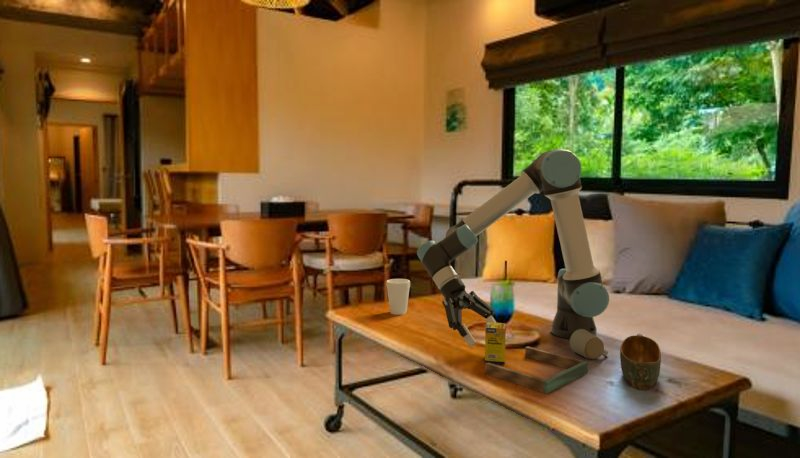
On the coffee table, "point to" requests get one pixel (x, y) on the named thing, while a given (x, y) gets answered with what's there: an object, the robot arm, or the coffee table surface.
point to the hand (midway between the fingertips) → (486, 339)
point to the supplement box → (495, 343)
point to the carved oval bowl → (640, 361)
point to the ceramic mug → (587, 344)
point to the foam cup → (398, 295)
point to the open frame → (546, 386)
